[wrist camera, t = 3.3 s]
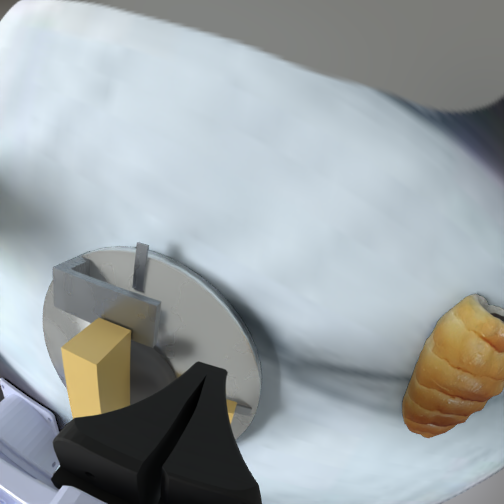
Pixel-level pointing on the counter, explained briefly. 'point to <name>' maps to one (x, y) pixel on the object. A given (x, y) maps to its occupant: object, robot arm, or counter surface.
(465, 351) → the pastry
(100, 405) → the multicoloured piece
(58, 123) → the counter surface
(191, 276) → the post plate
